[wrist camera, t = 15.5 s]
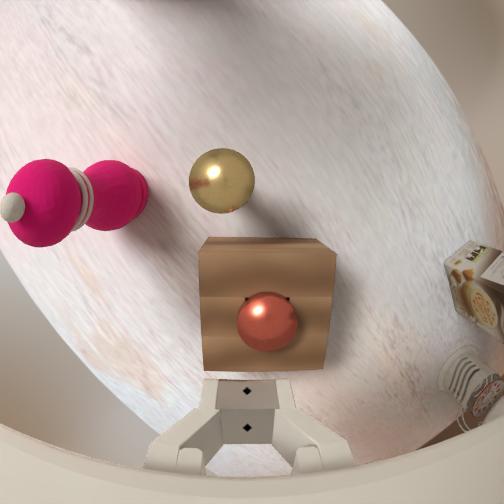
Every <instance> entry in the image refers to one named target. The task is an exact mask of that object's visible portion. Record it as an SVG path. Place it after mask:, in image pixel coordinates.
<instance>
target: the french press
mask: <svg viewBox="0 0 504 504" xmlns="http://www.w3.org/2000/svg"><path fill="white" fill-rule="evenodd" d="M479 369H480V371H479ZM492 374H493V381H492V382H491V383H490V381H491V375H492ZM487 377H488V385H487V386H486V387H485V388H484V386H485V384H486V378H487ZM483 380H484V381H483ZM482 381H483V384H482V386H481V388H479V389H478V390H477V391H476V392H474V393H472V392H473V391H474V390H475V389H476V388H477V387H478V386H479V385H480V383H481V382H482ZM437 386H438V388H439V389H440V391H443V392H450V394H451V395H452V396H453V397H454V398H455V399H456V401H457V402H458V407H457V413H456V417H457V422H458V424H459V426H460V428H461V429H462V430H463V431H464V432H467V431H466V430H464V429H463V427H462V426H461V425H460V423H459V420H458V409H459V405H460V404H461V406H462V407H463V409H462V419H463V422H464V425H465V426H466V427H467V428H468V429H469V430H472V429H470V428H469V427H468V426H467V425H466V423H465V421H464V417H463V410H464V409H465V410H466V411H467V412H469V411H468V409H467V408H466V405H467V406H468V407H469V409H470V410H471V411H472V414H473V416H480V415H482V414H484V413H485V412H486V411H488V410H489V409H490V408H491V407H492V406H493V405H494V406H493V408H492V409H491V410H490V412H489V413H488V415H487V416H486V418H485V420H484V422H479V423H483V424H485V423H487V422H489V421H491V420H493V419H495V418H497V417H499V416H501V415H503V414H504V396H503V397H502V398H501V399H500V400H499V401H498V402H497V403H496V404H495V402H496V401H497V399H499V397H500V395H501V393H502V391H503V387H504V382H503V380H501V379H500V376H499V374H498V373H497V372H495V371H494V370H493V369H492V368H491V367H490V366H488V365H487V364H486V363H485V362H484V361H482V360H481V359H480V358H479V357H478V351H477V349H476V347H474V346H472V345H469V346H464V347H462V348H461V349H459V350H457V351H456V352H455V353H454V354H453V355H452V356H451V357H450V358H449V359H448V360H447V361H446V363H445V364H444V366H443V367H442V369H441V371H440V374H439V376H438V384H437ZM466 388H468V389H467V390H466ZM483 388H484V389H483ZM481 390H482V392H481V393H480V394H479V396H477V397H475V398H474V397H473V396H474V395H476V394H478V393H479V392H480V391H481ZM453 391H454V392H455V393H454V394H453V393H452V392H453ZM456 395H458V396H459V397H458V398H457V397H456ZM460 399H461V400H462V403H461V402H460ZM469 413H470V412H469ZM479 423H478V425H479V426H481V425H480V424H479Z"/></svg>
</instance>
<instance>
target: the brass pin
mask: <svg viewBox="0 0 504 504" xmlns="http://www.w3.org/2000/svg"><path fill="white" fill-rule="evenodd" d="M254 184H255V176H254V172H253V169H252V167H251V164H250V163H249V161H248V160H247V159H246V158H245V157H244V156H243V155H241V154H240V153H238V152H236V151H234V150H231V149H225V148H220V149H214V150H211V151H208V152H206V153H205V154H203V155H202V156H201V157H199V158H198V159H197V161H196V162H195V163H194V165H193V167H192V169H191V172H190V176H189V187H190V191H191V194H192V196H193V198H194V199H195V201H196V202H197V203H198V204H199V205H200V206H201V207H203V208H204V209H206V210H208V211H210V212H214V213H229V212H233V211H235V210H237V209H239V208H240V207H242V206H243V205H244V204H245V203H246V202H247V201H248V200H249V198H250V196H251V195H252V192H253V189H254Z"/></svg>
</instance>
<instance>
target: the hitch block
mask: <svg viewBox="0 0 504 504" xmlns="http://www.w3.org/2000/svg"><path fill="white" fill-rule="evenodd" d="M198 254H199V290H200V314H201V334H202V351H203V366H204V371H231V372H265V371H297V370H315V369H323V365H324V359H325V352H326V346H327V338H328V331H329V323H330V315H331V307H332V298H333V289H334V279H335V268H336V256H337V254H336V253H335V252H333V251H332V250H330V249H329V248H328V247H326V246H325V245H324V244H322V243H321V242H319V241H318V240H317V239H311V238H252V237H208V239H207V240H206V242H205V243H204V245H203V246H202V248H201V249H200V251H199V252H198ZM266 291H268V292H275V293H278V294H281V295H282V296H284V297H285V298H287V299H288V300H289V302H290V303H291V305H292V307H293V309H294V311H295V314H296V316H297V321H298V326H297V331H296V333H295V335H294V337H293V339H292V340H291V341H290V342H289V343H288V344H287V345H285V346H284V347H282V348H280V349H278V350H274V351H258V350H255V349H253V348H251V347H249V346H248V345H246V344H245V343H244V342H243V341H242V339H241V337H240V336H239V333H238V328H237V321H238V312H239V309H240V307H241V305H242V304H243V302H244V301H245V297H250V296H252V295H254V294H256V293H259V292H266Z"/></svg>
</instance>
